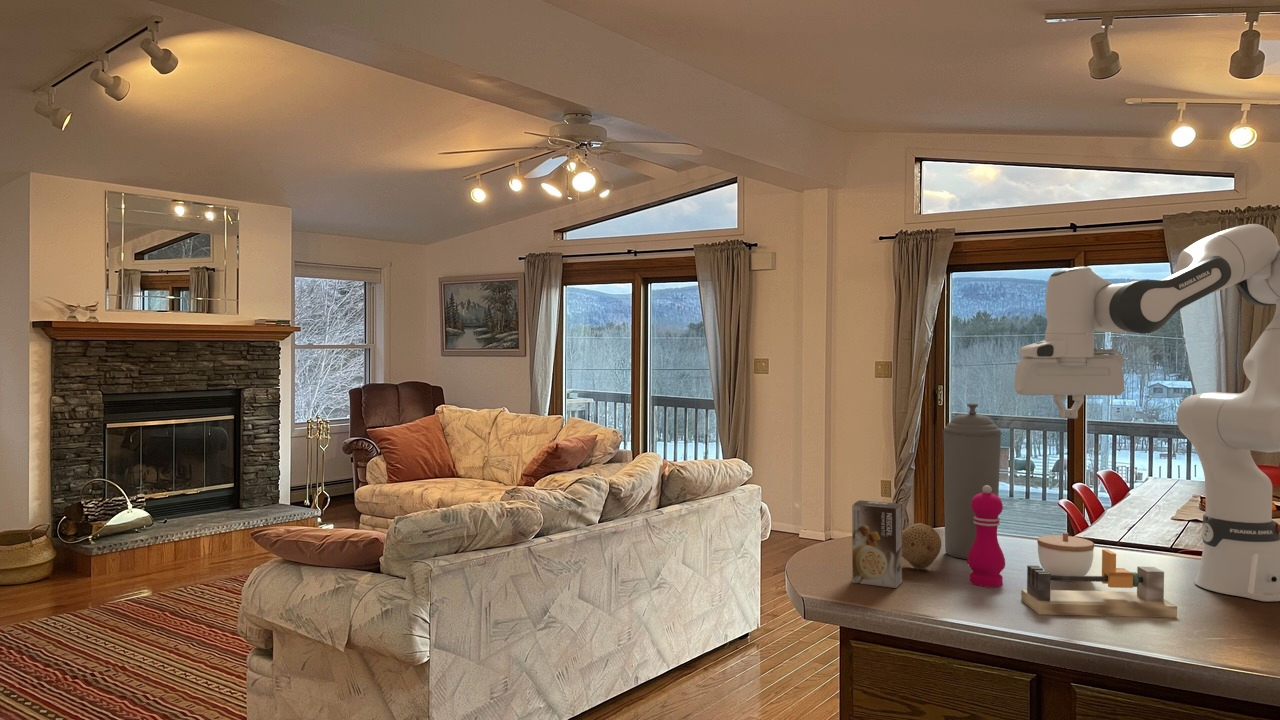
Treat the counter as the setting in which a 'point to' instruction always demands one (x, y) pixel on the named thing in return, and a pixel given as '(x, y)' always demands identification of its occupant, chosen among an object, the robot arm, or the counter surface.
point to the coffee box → (877, 543)
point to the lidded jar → (1065, 554)
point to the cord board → (1098, 595)
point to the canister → (967, 475)
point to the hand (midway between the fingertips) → (1068, 418)
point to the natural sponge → (920, 545)
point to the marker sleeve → (1115, 571)
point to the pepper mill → (986, 541)
